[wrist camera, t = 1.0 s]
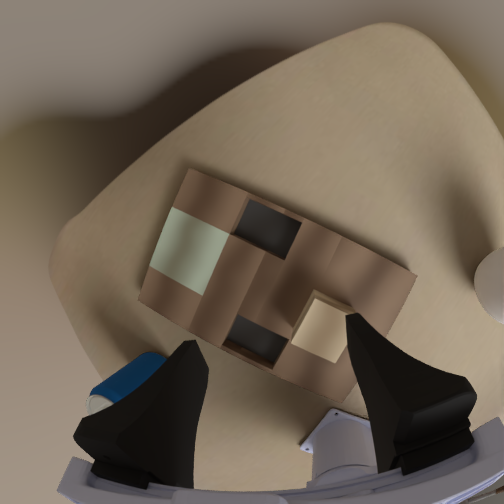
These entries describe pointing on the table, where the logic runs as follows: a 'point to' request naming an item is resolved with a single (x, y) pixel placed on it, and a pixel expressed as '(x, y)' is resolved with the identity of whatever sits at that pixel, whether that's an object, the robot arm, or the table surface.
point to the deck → (264, 280)
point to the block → (322, 326)
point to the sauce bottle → (491, 284)
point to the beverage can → (123, 382)
